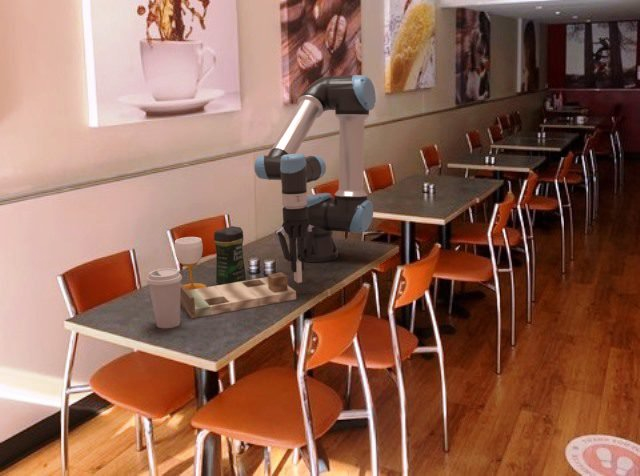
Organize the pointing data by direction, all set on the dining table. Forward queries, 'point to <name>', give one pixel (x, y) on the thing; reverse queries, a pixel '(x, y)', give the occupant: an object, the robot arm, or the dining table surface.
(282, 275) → the walnut block
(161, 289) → the coffee cup
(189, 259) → the cup
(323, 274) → the dining table surface
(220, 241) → the coffee jar
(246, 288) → the trap board
